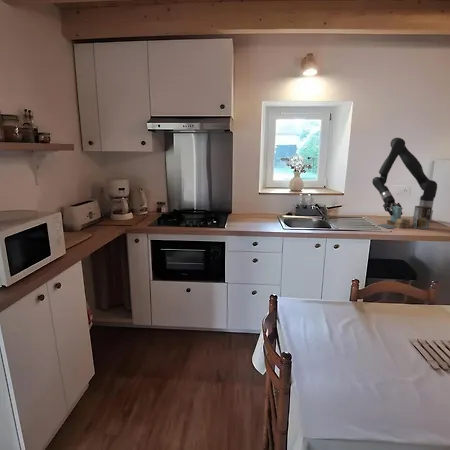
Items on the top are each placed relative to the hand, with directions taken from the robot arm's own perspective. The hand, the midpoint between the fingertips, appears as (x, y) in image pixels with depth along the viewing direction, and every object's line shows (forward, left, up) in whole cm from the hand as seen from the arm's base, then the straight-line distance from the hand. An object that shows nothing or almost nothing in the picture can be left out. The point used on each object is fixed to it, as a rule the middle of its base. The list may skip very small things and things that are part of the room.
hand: (396, 215), depth 247 cm
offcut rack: (0, +2, -8) cm, 8 cm away
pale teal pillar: (0, -1, -8) cm, 8 cm away
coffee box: (-11, +12, -8) cm, 18 cm away
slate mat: (+11, +3, -8) cm, 14 cm away
